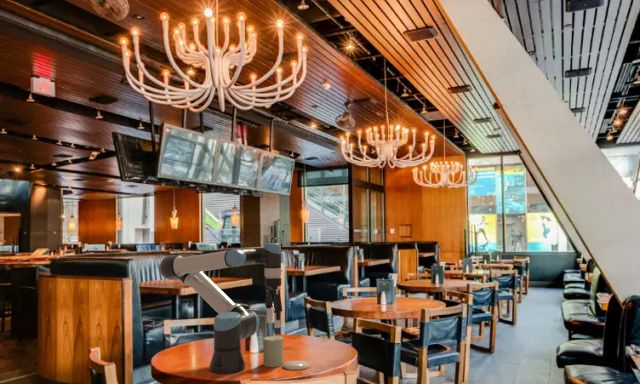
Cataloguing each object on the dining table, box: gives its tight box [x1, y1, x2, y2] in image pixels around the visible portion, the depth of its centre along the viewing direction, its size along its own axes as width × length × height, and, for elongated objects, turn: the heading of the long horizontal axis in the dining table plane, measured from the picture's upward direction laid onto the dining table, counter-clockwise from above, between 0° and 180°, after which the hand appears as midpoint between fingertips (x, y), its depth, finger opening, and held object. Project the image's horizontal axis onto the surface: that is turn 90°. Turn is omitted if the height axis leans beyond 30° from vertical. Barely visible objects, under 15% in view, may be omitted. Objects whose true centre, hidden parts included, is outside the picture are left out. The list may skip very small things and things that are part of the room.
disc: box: [282, 360, 311, 371], centre depth 226 cm, size 12×12×1 cm
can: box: [262, 335, 285, 368], centre depth 230 cm, size 9×9×12 cm
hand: (273, 325), depth 231 cm, fingers open, 13 cm apart
